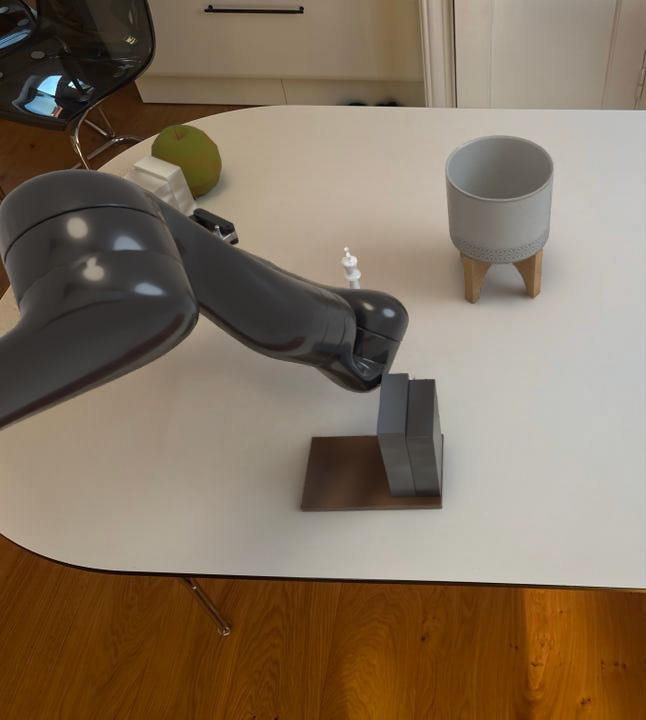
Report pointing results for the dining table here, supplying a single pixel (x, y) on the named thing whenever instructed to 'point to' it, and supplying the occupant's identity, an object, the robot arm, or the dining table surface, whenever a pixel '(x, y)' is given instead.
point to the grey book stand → (382, 456)
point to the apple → (190, 156)
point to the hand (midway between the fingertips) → (128, 237)
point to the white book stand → (163, 183)
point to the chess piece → (351, 269)
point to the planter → (499, 207)
